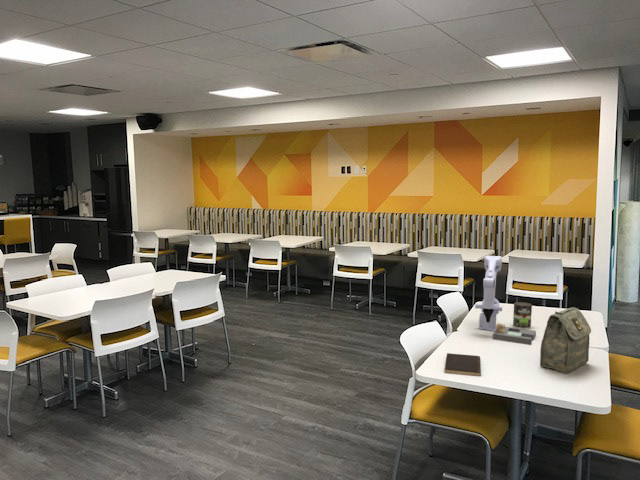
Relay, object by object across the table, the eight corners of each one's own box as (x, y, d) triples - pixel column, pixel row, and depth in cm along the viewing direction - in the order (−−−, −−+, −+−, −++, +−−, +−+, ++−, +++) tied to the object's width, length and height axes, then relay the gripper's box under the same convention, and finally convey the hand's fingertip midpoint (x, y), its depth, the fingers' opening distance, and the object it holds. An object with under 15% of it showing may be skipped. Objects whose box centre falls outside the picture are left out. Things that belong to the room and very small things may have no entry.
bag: (571, 375, 239) (574, 316, 236) (537, 366, 251) (540, 310, 248) (591, 364, 254) (595, 308, 251) (558, 355, 266) (561, 302, 263)
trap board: (492, 339, 293) (492, 333, 293) (499, 330, 309) (499, 325, 308) (530, 344, 283) (530, 339, 283) (535, 335, 299) (535, 330, 298)
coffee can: (532, 329, 312) (533, 306, 310) (514, 328, 313) (515, 305, 312) (528, 324, 322) (529, 302, 320) (511, 324, 323) (512, 301, 322)
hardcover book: (444, 373, 243) (444, 368, 243) (446, 357, 265) (447, 353, 265) (480, 377, 239) (481, 372, 238) (480, 360, 261) (480, 356, 260)
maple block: (496, 332, 296) (496, 325, 295) (497, 330, 299) (497, 323, 299) (503, 333, 294) (503, 326, 293) (504, 331, 297) (505, 324, 297)
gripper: (474, 298, 298) (473, 321, 300) (500, 301, 291) (499, 325, 292) (477, 296, 304) (476, 319, 306) (503, 298, 297) (502, 322, 298)
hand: (488, 322), depth 299 cm, fingers closed
